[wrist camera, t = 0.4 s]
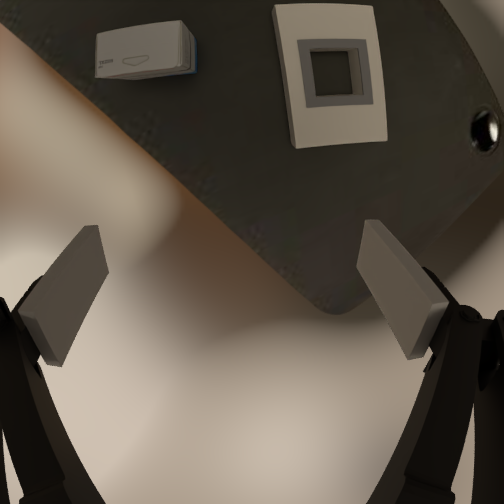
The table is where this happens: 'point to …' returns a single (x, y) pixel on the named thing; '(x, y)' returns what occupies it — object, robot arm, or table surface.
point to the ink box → (146, 51)
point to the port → (302, 82)
